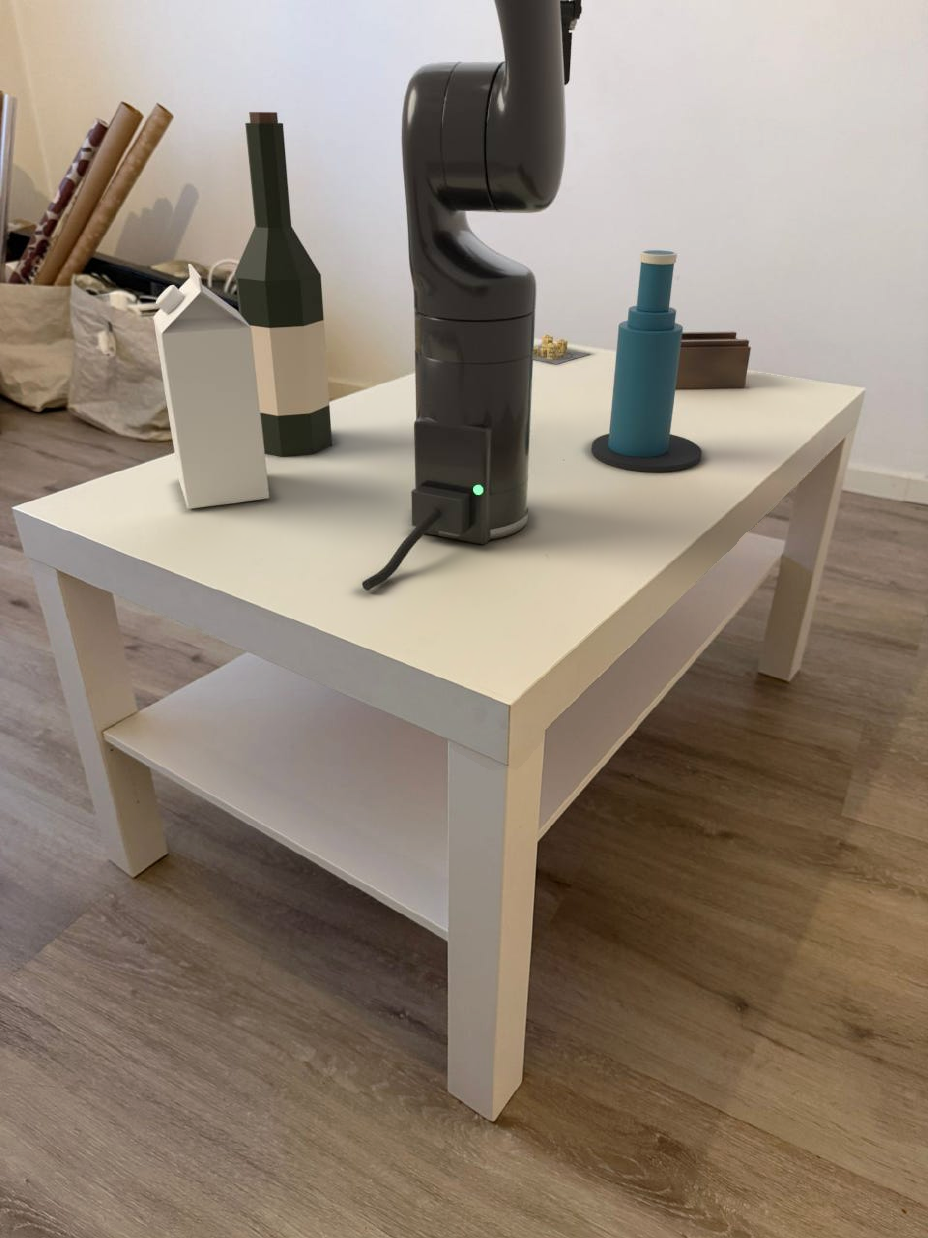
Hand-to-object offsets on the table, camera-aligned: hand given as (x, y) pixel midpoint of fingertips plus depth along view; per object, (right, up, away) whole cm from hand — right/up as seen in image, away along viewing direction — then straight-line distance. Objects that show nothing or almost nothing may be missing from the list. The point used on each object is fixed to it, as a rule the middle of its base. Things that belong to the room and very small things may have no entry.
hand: (547, 85), depth 79 cm
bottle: (+13, -21, +9) cm, 26 cm away
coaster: (+11, -29, +13) cm, 34 cm away
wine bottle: (-25, -28, +15) cm, 41 cm away
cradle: (+23, -16, +37) cm, 47 cm away
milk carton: (-29, -35, +4) cm, 46 cm away
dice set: (+5, -9, +49) cm, 50 cm away
